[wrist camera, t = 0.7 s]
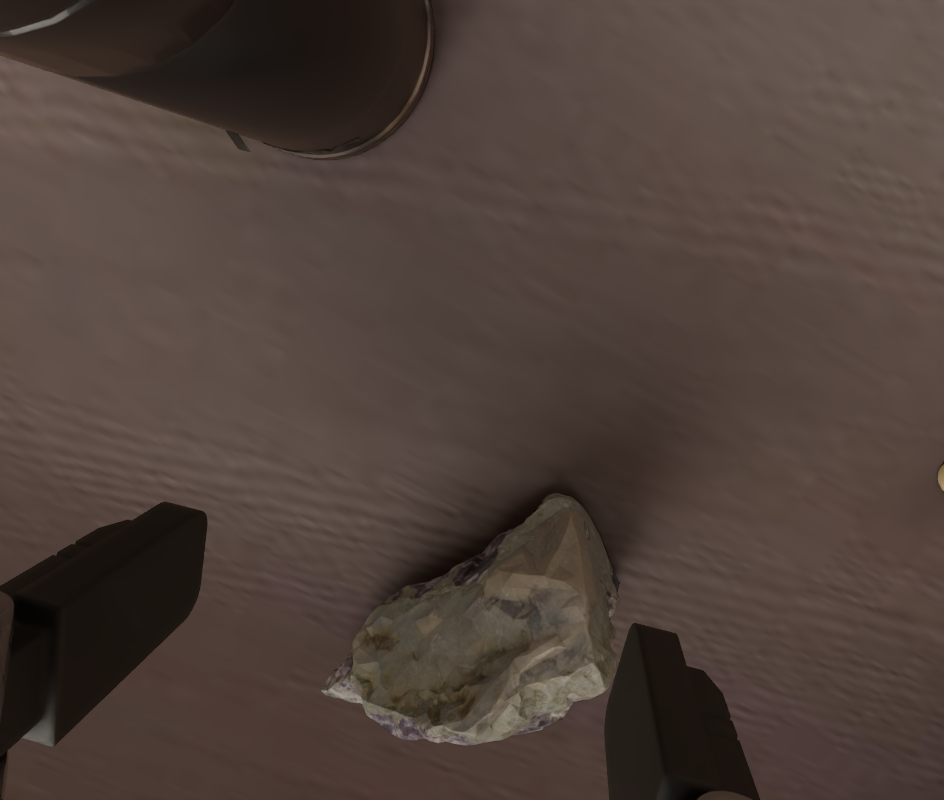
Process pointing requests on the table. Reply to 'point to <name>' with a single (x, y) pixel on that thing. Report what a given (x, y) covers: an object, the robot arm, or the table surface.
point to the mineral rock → (492, 637)
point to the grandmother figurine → (941, 477)
